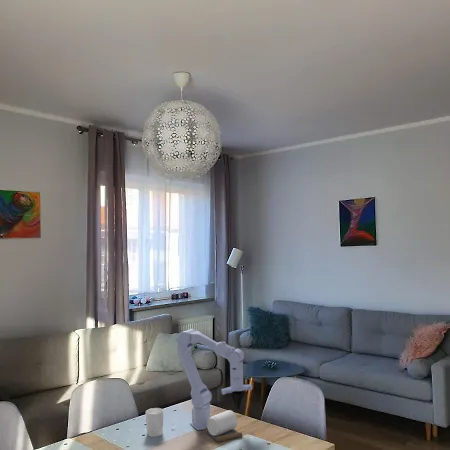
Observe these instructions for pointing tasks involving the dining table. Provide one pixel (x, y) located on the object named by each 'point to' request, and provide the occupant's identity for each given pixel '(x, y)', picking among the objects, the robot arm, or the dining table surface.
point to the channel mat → (225, 435)
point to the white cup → (154, 422)
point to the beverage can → (222, 423)
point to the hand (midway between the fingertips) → (237, 408)
